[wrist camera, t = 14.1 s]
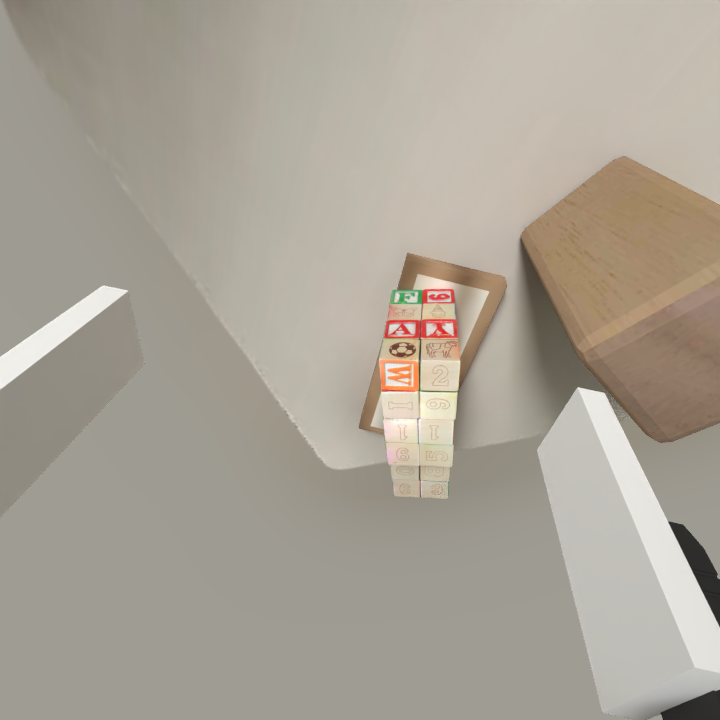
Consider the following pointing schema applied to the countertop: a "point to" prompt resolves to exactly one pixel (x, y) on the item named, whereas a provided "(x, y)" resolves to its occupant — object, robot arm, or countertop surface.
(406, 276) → the picture frame
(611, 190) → the block
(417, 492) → the stack of blocks
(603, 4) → the countertop surface
